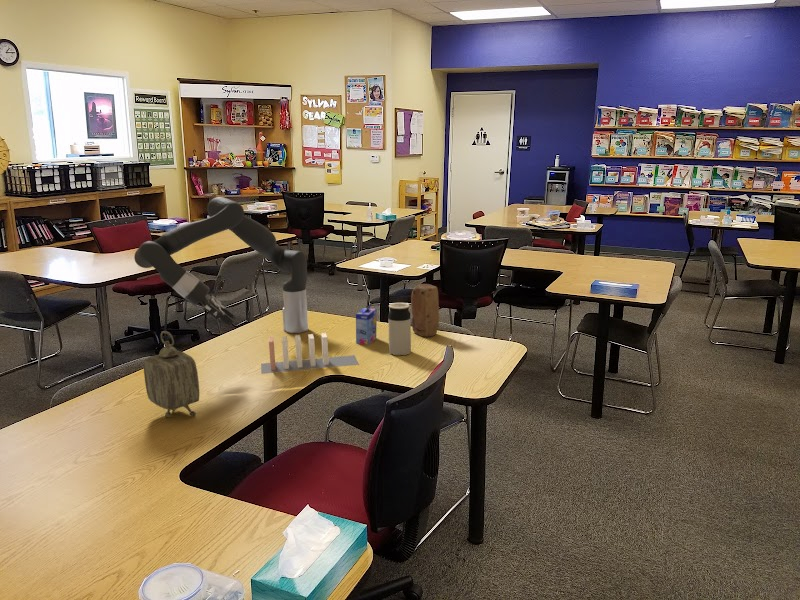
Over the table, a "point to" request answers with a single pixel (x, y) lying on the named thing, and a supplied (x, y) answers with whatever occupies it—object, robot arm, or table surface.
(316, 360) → the mat
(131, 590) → the table surface
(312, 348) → the domino
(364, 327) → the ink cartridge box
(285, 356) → the domino
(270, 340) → the domino
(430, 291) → the block
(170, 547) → the table surface
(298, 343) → the domino
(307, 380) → the table surface
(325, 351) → the domino
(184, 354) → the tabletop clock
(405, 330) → the travel mug
